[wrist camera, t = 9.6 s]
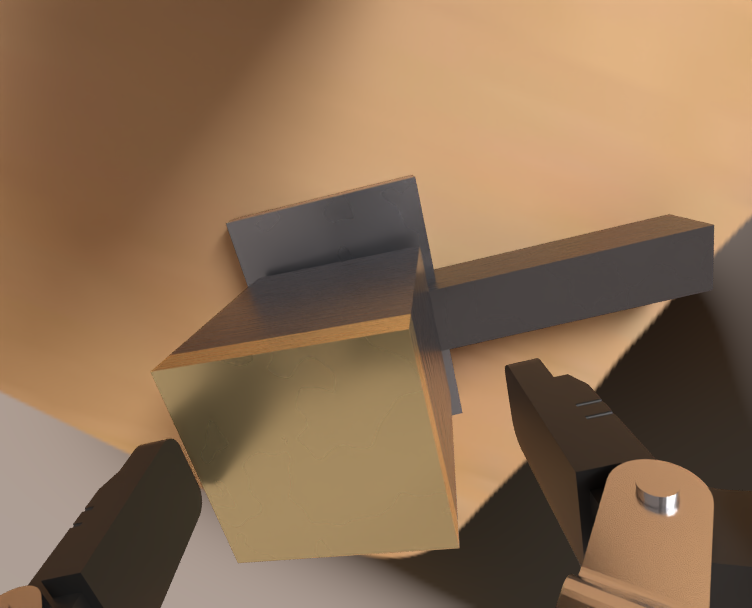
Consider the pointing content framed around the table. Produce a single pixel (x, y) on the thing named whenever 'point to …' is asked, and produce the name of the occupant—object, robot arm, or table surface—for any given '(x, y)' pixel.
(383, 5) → the table surface
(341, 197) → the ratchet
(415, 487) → the khaki matte cube
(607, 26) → the table surface
